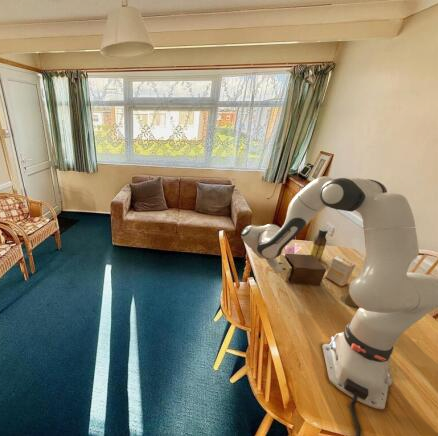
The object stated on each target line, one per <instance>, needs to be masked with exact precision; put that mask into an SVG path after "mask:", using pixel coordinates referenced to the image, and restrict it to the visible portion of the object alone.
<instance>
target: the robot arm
mask: <svg viewBox="0 0 438 436" xmlns="http://www.w3.org/2000/svg"><path fill="white" fill-rule="evenodd" d="M326 208H330V209H333V210H338V211H345V212H354V211H355V212H357V213H358V214H359V215H360V216H361V219H362V224H363V236H364V246H365V254H364V255H365V256H364V260H363V263H362V266H361V269H360V272H359V273H358V274H357V276H356V277H355V278H354V279H352V280H351V282H350V283H349V286H348V291H349V294H350V297H351V299H352V300H353V302H354V303H355V304H356V305H357V306H358V309H357V310H356V312H355V314H354V316H353V317H352V319H351V321H350V322H348V323H347V324H346V325H345V327H344V330H343V331H341V332H338V333H336V334H335V335H334V336H331V341H330V343H323V344H322V351H323V352H322V353H323V357H324V362H325V367H326V371H327V376H328V380H329V383H331V384H332V385H333V386H334V387H336V388H337V389H338V390H339V391H341V392H342V393H344V394H345V395H346V396H348V397H350V398H352V401H350V412H351V415H352V419H353V422H354V425H355V431H356V434H355V436H362V435H361V433H362V432H361V427H360V424H359V421H358V418H357V415H356V411H355V405H356V404H357V402H359V403H361V404H363V405H366V406H368V407H370V408H373V409H377V410H385V407H386V404H387V398H388V392H389V386H390V387H391V385H393V381H394V380H393V378H391V375H390V373H389V372H392V370H393V366H390V362H391V359H392V354H393V351H394V347H395V344H396V343H397V342H398V340H399V339H400V337H401V336H402V335H403V333H405V332H406V331H407V330H408V329H410V328H411V327H412V326H414V325H415V324H416V323H418V322H419V321H420V320H422V318H424V317H425V316H426V315H428V314H429V313H430V312H432V311H433V310H435V309H437V308H438V278H437V277H435V276H433V275H431V274H425V273H421V272H420V273H419V272H411V271H410V272H409V269H410V266H411V264H412V263H413V261H414V260H416V259H417V258H418V256H419V254H420V249H419V243H418V242H419V241H418V236H417V234H418V233H417V227H416V221H415V217H414V213H413V210H412V207H411V205H410V203H409V201H408V199H407V197H405V196H404V195H402V194H400V193H397V192H388V189H387V187H386V186H385V184H383V183H382V182H379V181H377V180H374V179H369V178H368V179H365V178H360V177H338V178H332V177H330V176H325V175H324V176H323V175H322V176H319V177H317V178H316V179H314V180H312V181H311V182H309V183H308V184H307V185H305V186H304V187H302V188H301V189H300V190H299V192H297V193H296V194H295V195H294V196H293V198H292V199H291V200H290V202H289V204H288V207H287V211H286V217H285V220H284V223H283V224H282V226H281V227H280V226H279V225H277V224H274V223H268V224H264V225H260V226H254V225H247V226H246V227H245V228H243V229H242V230H241V235H240V237H241V240H242V241H243V242H244V243H245V245H247V247H248V248H250V249H251V250H252V252H253V253H254V254H255V255H256V256H257V257H258V259H265V261H266V262H267V264H268V266H269V267H270V268H271V269H272V270H273V271H274V273H275V274H281V273H280V272H282V271H283V269H282V267H281V266H280V264H279V263H278V262H279V260H277V258H278V257H279V256H280V257H281V255H282V252H283V250H284V248H285V246H286V245H288V244H289V243H291V242H292V241H293V240H294V239H295V238H296V237H297V236H298V235H299V234H300V233H301V232H302V231H303V229H305V228H306V226H307V225H308V224H309V223H310V222H311V221H312V220H313V219H314V218H315V217H316V216H317V215H319V213H321V212H323V210H324V209H326ZM388 371H389V372H388Z"/></svg>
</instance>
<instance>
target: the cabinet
mask: <svg viewBox="0 0 438 436" xmlns="http://www.w3.org/2000/svg"><path fill="white" fill-rule="evenodd" d="M284 253H285V252H284ZM284 257H285V258H286V257H287V258H288V259H289V261H290V262H291V264H292V265H293V266H294V270H293V273H292V276H291V279H290V280H289V278H288V281H287V282H288V283H289V284H291V285H303V286H315V287H316V286H317V287H320V286H321V284H322V282H323V280H324V276H325V275H326V273H327V272H326V271H327V268H325V266H324V265H323V264H322V263H321V262H320V260H317V259H316V258H315V257H314V255H309V254H300V253H296V254H286V253H285V255H284Z"/></svg>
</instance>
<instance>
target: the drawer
mask: <svg viewBox="0 0 438 436" xmlns="http://www.w3.org/2000/svg"><path fill="white" fill-rule="evenodd" d="M278 263H279V264H280V266H281V267H282V269H283V271H282V272H280V273H279V274H280V275H281V276H282V278H283V280H284V281H285V282H289V281H288V278H289V280H290V279H291V276H292V273H293V270H294V266H293V265H292V264H291V262H290V261H289V259H288V258H287V257H286V258H285V255H282V254H281V255H280V257H279V260H278Z"/></svg>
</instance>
